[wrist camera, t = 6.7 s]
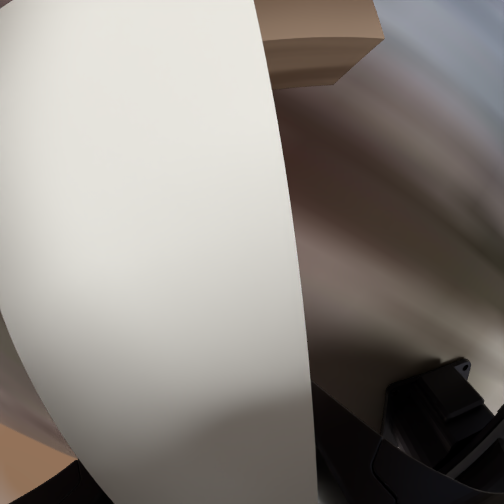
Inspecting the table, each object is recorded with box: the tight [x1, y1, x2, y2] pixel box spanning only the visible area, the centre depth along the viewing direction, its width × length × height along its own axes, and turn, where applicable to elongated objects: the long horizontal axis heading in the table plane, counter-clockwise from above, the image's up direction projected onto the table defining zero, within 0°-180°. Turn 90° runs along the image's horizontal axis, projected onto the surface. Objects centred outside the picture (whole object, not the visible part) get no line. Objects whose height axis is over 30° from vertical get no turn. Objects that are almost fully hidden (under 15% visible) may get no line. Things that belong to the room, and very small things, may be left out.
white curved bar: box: [0, 0, 318, 504], centre depth 6 cm, size 20×3×6 cm, turn 9°
